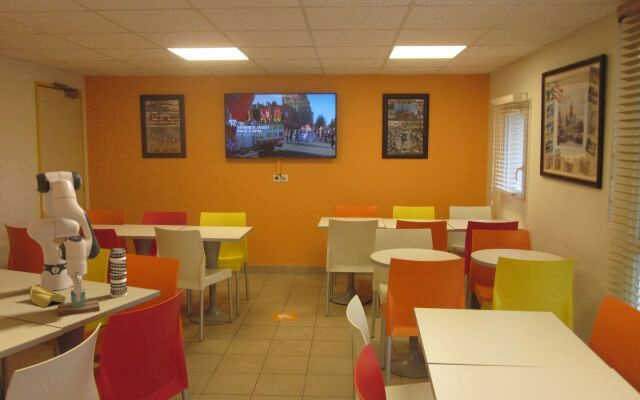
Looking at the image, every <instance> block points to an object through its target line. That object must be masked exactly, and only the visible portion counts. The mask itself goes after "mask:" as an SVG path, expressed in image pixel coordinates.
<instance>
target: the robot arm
mask: <svg viewBox="0 0 640 400" xmlns="http://www.w3.org/2000/svg"><path fill="white" fill-rule="evenodd" d="M33 180H34V181H33V185H34V188H35V190H36V192H38V193H40V194H42V210H43V212H44V213H45V214H47V215H48V216H51V217H53V218H44V219H43V218H41V219H37V220H32V221H30V222H28V225H27V228H26V232H27V235H28V236H29V237H30V238H31V239H32V240H34V241H35V242H37V244H39V245H40V247H41V249H42V252H43V266H42V269H43V272H41V274H40V284H39V285H38V287H42V288H45V289H48V290H51V291H58V290H59V291H60V290H65V289H69V288H70V287H72V288H73V290H74V294H76V301H80V296H81V293H82V289H83V278H85V275H86V274H88V262H87V260H94V259H96V258H97V257H98V255H100V253H101V247H100V244H99V242H98V239H97V238H96V236H95V233H94V229H93V227H92V223H91V220H90V219H89V218H90V217H89V216H88V213H87V212H86V210H85V209H84V208H82V207H81V206H80V205H79V203H78V200H77V195H76V192H77V191H78V190H80V189H81V188H82V177H81V175H80V173H79V172H76V171H62V170H61V171H51V172H50V171H49V172H39V173H37V174H36V175H35V177H34V179H33ZM80 227H81V228H80ZM80 229H82V232H83V236H81V235H77V234H78V233H79V231H80ZM61 238H66V241H64V242H62V243H56V242H54V239H61Z"/></svg>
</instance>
